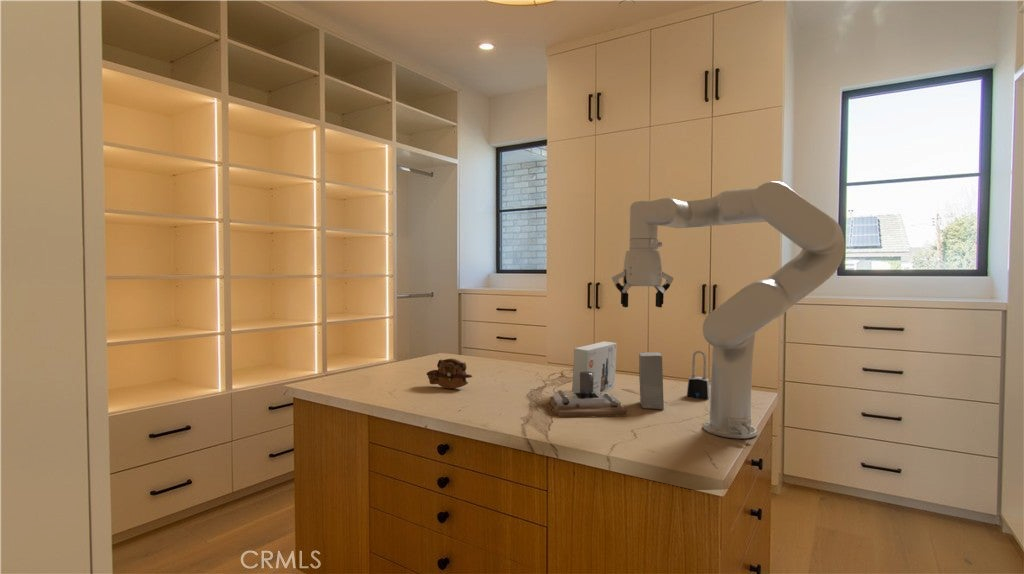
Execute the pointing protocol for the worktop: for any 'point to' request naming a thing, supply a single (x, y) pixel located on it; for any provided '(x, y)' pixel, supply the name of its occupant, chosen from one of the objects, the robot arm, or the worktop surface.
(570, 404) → the grey tray
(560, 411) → the walnut board
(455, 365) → the wooden carving
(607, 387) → the skincare box
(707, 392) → the padlock
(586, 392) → the pin
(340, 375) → the worktop surface
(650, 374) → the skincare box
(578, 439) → the worktop surface
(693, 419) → the worktop surface
